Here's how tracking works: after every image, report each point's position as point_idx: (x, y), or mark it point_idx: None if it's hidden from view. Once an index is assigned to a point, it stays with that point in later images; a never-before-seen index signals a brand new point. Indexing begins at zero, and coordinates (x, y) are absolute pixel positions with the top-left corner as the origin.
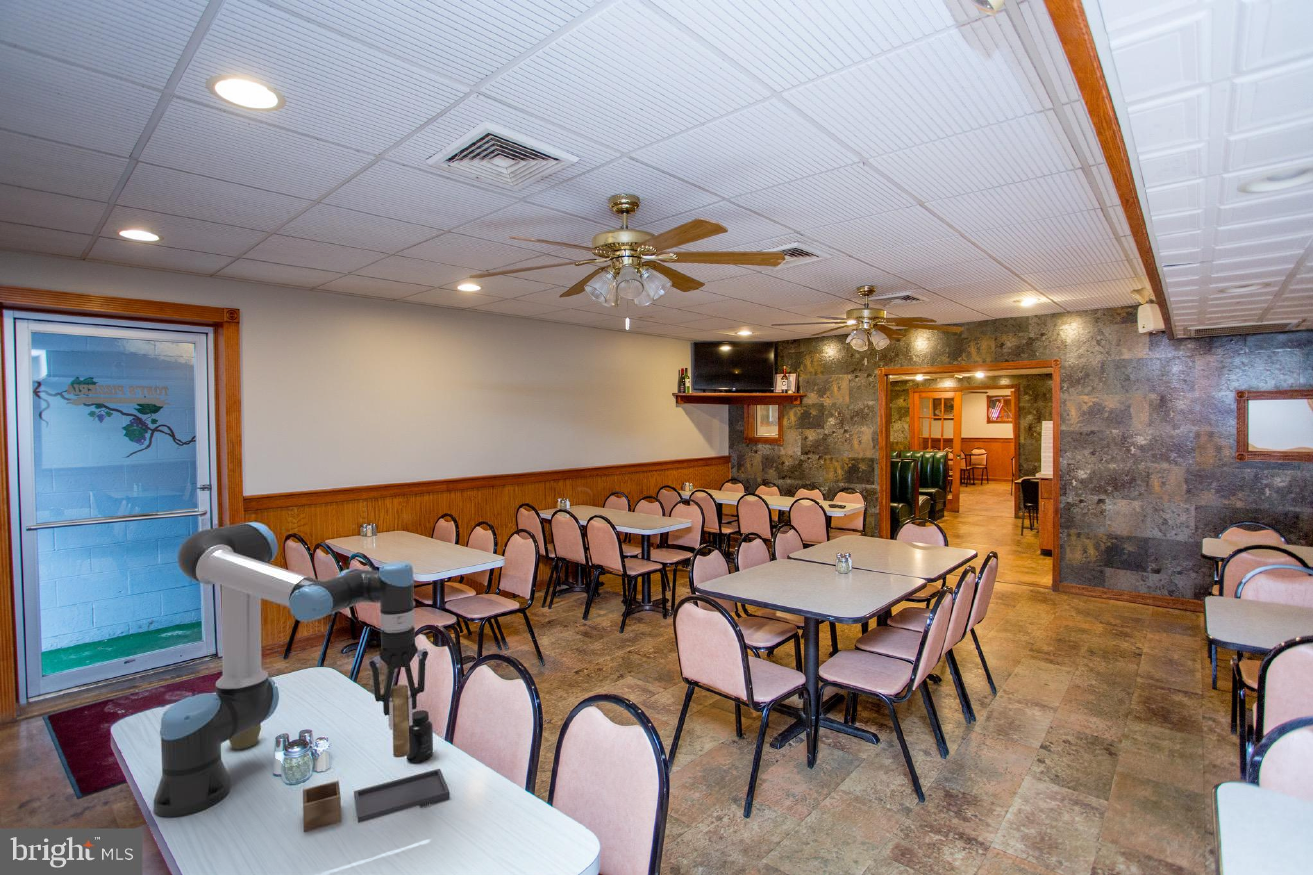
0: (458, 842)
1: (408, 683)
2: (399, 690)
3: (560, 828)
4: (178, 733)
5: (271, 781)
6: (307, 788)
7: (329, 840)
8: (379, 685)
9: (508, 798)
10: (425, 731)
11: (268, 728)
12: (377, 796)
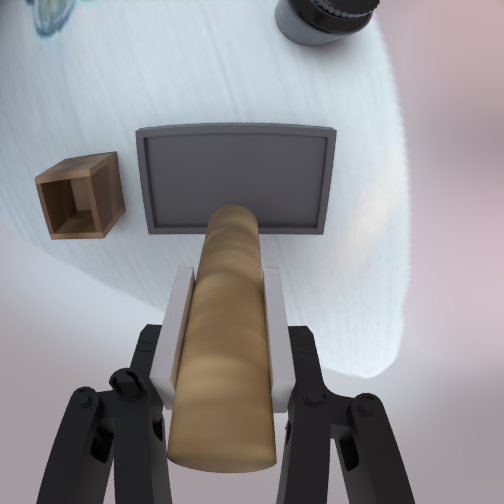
0: None
1: (281, 481)
2: (217, 471)
3: (391, 342)
4: None
5: (21, 20)
6: (40, 177)
7: (115, 245)
8: (102, 493)
9: (391, 271)
10: (344, 35)
11: None
12: (185, 157)
